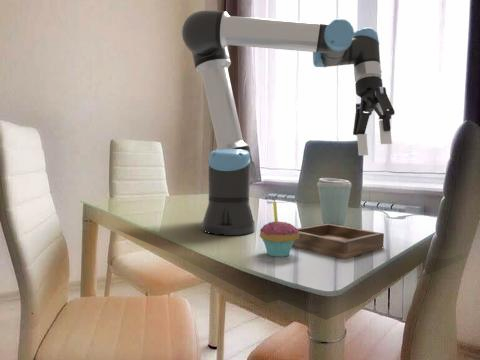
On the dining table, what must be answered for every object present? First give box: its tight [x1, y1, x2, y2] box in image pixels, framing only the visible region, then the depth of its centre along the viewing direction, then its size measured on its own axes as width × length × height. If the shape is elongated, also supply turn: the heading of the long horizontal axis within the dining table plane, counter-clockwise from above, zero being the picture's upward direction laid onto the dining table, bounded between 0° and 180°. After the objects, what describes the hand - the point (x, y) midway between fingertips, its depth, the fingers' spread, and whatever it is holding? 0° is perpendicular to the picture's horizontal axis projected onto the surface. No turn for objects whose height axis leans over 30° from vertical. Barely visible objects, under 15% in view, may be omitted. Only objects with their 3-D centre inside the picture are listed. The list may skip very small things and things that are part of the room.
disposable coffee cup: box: [316, 177, 352, 226], centre depth 113 cm, size 11×11×15 cm
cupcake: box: [259, 198, 299, 258], centre depth 77 cm, size 9×8×12 cm
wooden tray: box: [292, 224, 385, 260], centre depth 85 cm, size 16×16×4 cm
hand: (374, 150), depth 103 cm, fingers open, 13 cm apart
